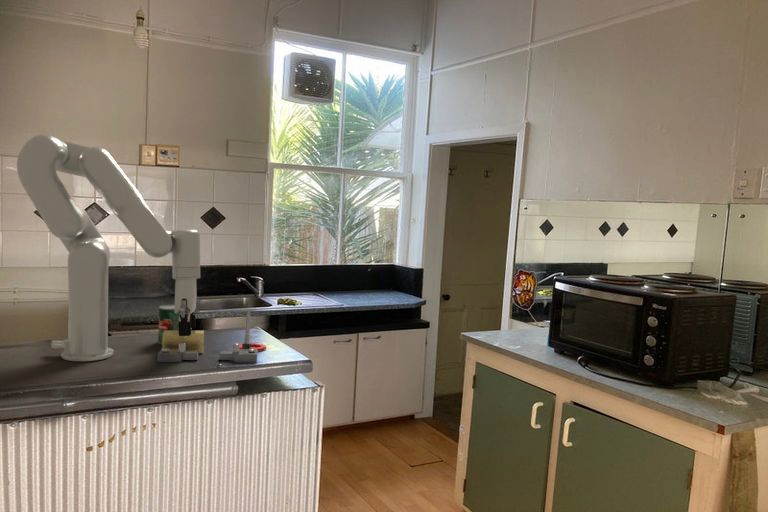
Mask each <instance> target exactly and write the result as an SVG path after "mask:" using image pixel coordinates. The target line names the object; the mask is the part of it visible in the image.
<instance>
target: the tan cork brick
mask: <svg viewBox="0 0 768 512" xmlns="http://www.w3.org/2000/svg"><path fill="white" fill-rule="evenodd" d="M204 338H205V330H191V335H190V336H179V331H164V332H163V334H162V344H161V349H163V348H169V349H179V343H186V351H199V353H204V346H205V345H204V343H205V342H204V341H205V339H204Z"/></svg>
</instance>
